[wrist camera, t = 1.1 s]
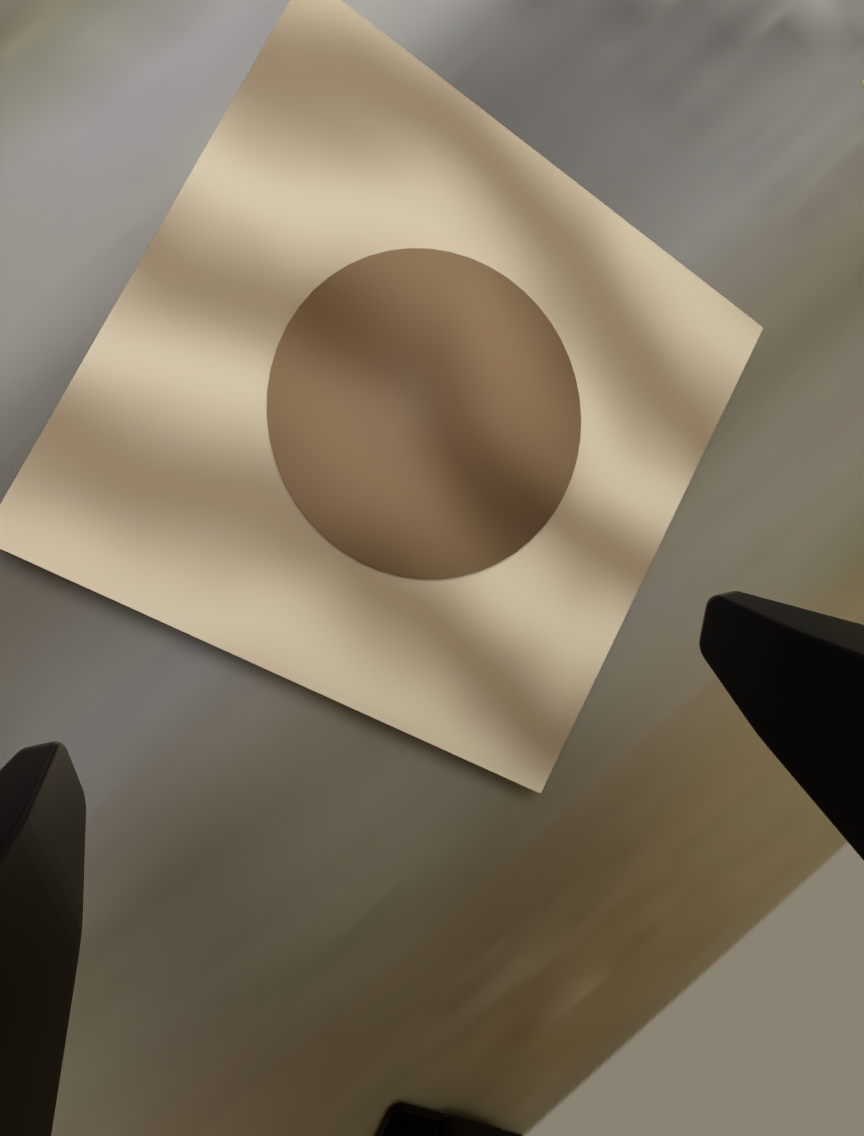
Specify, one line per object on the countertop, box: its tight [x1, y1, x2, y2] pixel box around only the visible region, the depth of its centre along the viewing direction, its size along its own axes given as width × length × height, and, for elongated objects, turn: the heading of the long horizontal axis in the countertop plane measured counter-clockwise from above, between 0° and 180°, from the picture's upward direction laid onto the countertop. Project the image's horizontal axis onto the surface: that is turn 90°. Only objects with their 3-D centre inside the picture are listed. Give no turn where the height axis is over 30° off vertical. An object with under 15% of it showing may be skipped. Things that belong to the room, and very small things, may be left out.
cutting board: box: [0, 0, 763, 794], centre depth 23 cm, size 20×20×2 cm
